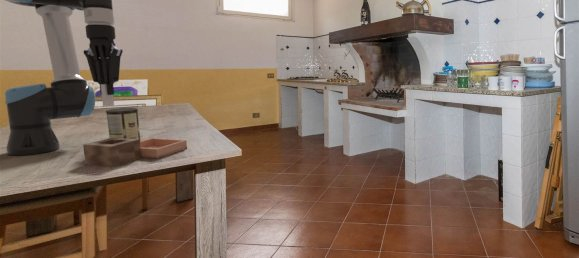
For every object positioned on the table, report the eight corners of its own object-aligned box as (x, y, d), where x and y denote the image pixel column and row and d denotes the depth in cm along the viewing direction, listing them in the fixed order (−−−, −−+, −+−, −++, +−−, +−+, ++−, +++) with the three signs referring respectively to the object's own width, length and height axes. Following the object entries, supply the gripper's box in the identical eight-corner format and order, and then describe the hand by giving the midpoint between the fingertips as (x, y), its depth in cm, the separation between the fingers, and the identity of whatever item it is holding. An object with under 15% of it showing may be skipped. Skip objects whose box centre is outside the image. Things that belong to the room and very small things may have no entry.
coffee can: (120, 144, 130) (117, 108, 128) (146, 145, 129) (143, 107, 127) (103, 151, 120) (99, 111, 118) (131, 151, 119) (127, 111, 117)
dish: (120, 155, 113) (120, 146, 113) (153, 145, 127) (152, 138, 127) (157, 158, 108) (156, 149, 108) (186, 148, 122) (186, 140, 122)
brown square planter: (85, 163, 103) (83, 144, 102) (115, 155, 114) (113, 137, 113) (113, 166, 100) (111, 146, 99) (141, 157, 110) (139, 139, 109)
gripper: (71, 25, 99) (81, 106, 102) (106, 21, 94) (115, 107, 98) (94, 28, 105) (102, 104, 109) (127, 25, 101) (135, 105, 105)
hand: (108, 105), depth 104 cm, fingers closed
